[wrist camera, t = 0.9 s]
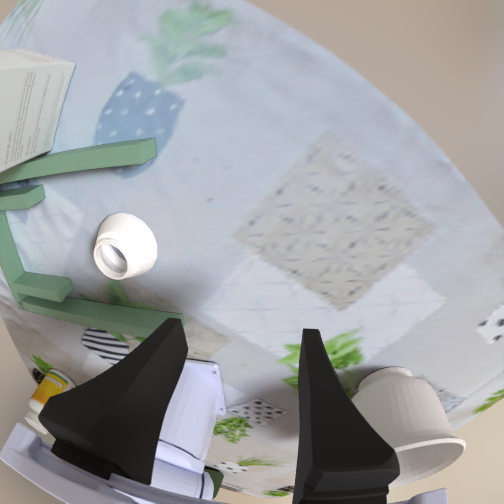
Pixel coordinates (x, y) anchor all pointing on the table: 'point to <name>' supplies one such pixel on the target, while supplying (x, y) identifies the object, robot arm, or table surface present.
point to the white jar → (125, 247)
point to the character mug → (215, 480)
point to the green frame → (57, 288)
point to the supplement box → (30, 103)
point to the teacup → (409, 422)
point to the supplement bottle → (46, 396)
